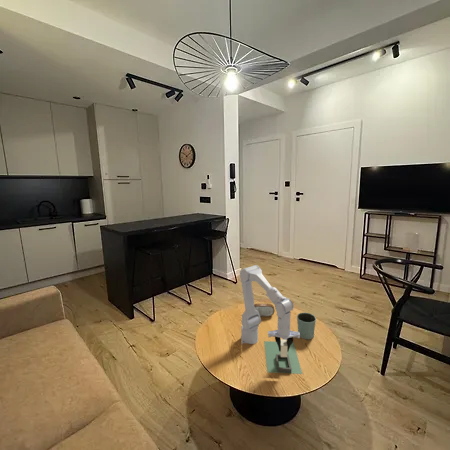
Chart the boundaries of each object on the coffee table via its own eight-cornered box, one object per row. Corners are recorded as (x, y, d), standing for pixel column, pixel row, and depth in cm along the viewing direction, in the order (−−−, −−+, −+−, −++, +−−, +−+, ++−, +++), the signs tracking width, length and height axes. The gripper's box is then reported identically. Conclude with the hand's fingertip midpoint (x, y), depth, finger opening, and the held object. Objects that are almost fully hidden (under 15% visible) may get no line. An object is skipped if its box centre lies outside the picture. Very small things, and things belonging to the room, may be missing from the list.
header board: (267, 374, 115) (267, 368, 114) (264, 342, 136) (264, 338, 136) (302, 375, 113) (302, 370, 113) (293, 343, 135) (293, 338, 134)
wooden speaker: (274, 314, 164) (274, 302, 162) (274, 317, 161) (274, 305, 159) (251, 314, 164) (251, 303, 163) (251, 317, 161) (251, 305, 160)
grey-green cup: (318, 335, 141) (319, 316, 138) (309, 344, 134) (310, 324, 131) (301, 328, 148) (302, 310, 145) (293, 336, 141) (293, 317, 139)
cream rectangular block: (280, 356, 116) (280, 345, 115) (279, 349, 121) (279, 338, 120) (287, 357, 116) (287, 345, 114) (285, 349, 121) (285, 338, 120)
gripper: (268, 329, 111) (268, 355, 114) (301, 330, 110) (300, 356, 112) (267, 320, 118) (267, 345, 121) (298, 321, 117) (297, 346, 119)
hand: (283, 350), depth 117 cm, fingers closed on cream rectangular block, 3 cm apart
